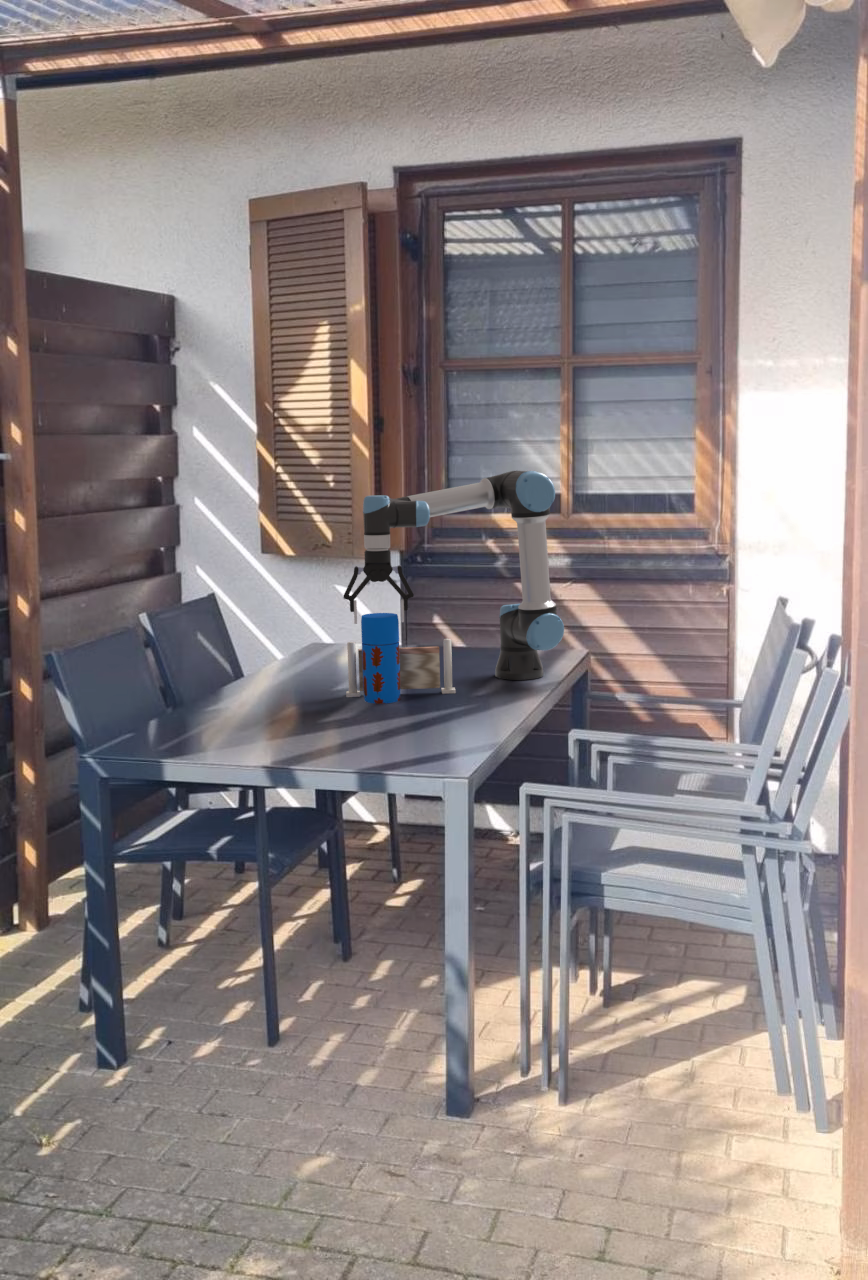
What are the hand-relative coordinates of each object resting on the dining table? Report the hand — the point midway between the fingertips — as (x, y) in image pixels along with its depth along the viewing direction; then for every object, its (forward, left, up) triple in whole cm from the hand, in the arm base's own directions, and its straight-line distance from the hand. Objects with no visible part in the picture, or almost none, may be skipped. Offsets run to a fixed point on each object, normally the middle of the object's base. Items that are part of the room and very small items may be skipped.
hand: (379, 622), depth 400 cm
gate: (-6, -8, -21) cm, 23 cm away
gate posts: (-6, -8, -23) cm, 25 cm away
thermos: (0, 0, -23) cm, 23 cm away
